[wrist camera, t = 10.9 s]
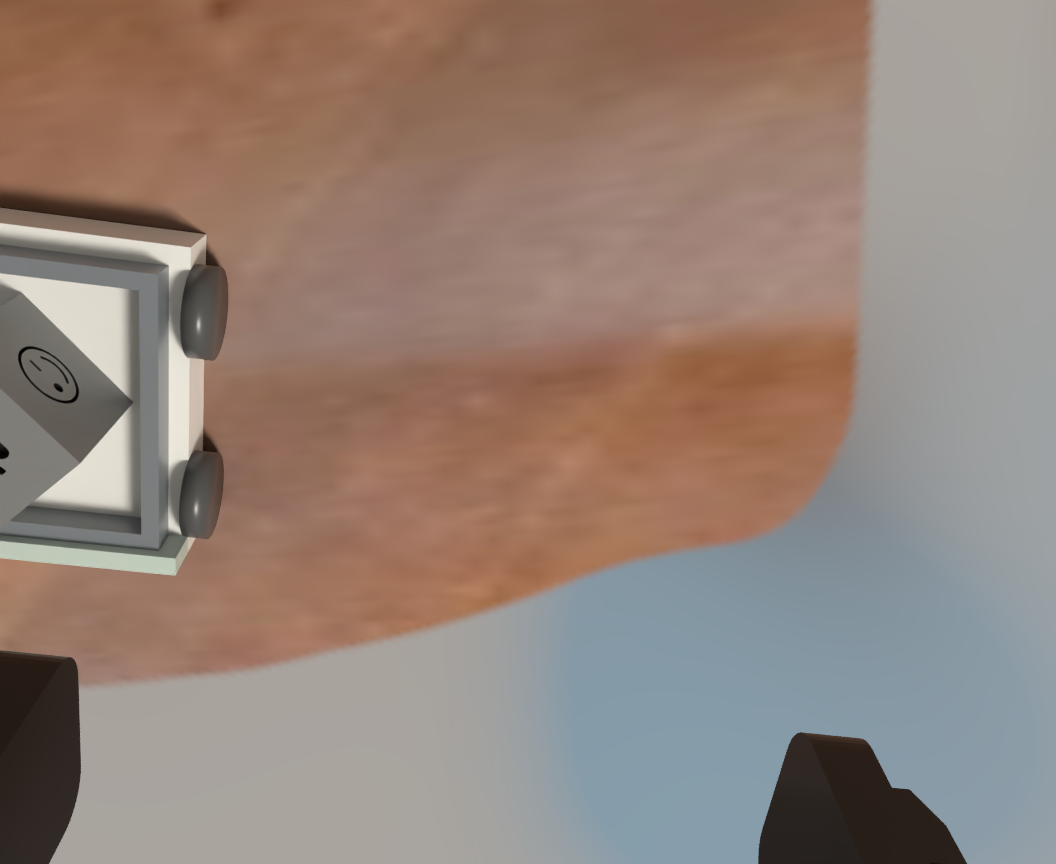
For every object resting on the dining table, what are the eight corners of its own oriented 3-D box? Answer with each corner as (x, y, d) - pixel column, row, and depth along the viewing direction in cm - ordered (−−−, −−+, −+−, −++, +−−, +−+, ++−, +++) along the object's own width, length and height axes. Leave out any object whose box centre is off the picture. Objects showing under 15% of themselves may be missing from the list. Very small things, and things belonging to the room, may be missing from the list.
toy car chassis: (-170, 185, 34) (-241, 206, 31) (229, 237, 35) (202, 262, 32) (-131, 492, 38) (-189, 539, 35) (222, 529, 40) (198, 577, 36)
